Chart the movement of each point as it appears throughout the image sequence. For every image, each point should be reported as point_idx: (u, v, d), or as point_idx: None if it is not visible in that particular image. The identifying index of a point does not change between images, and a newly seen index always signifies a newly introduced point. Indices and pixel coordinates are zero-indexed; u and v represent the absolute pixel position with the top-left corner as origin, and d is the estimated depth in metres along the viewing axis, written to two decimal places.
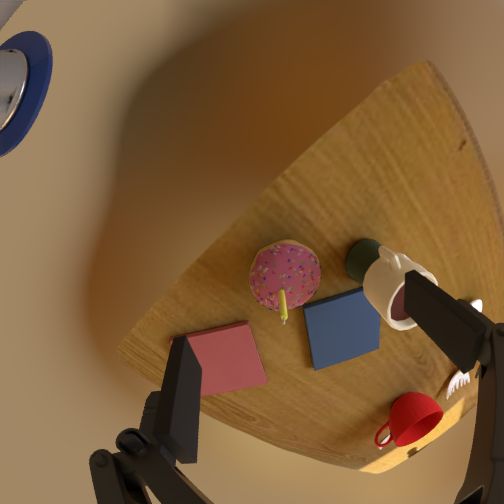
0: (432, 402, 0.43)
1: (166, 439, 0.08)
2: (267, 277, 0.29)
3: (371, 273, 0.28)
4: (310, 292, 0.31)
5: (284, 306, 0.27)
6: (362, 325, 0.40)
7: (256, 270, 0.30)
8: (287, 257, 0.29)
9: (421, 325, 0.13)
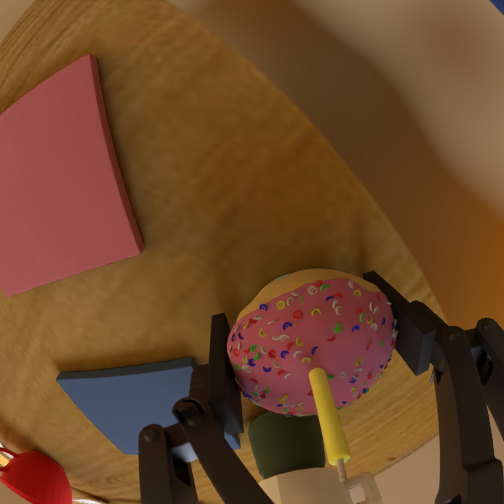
0: None
1: (220, 406, 0.10)
2: (358, 333, 0.10)
3: (328, 480, 0.12)
4: (289, 413, 0.12)
5: None
6: None
7: (365, 299, 0.10)
8: (385, 360, 0.11)
9: None
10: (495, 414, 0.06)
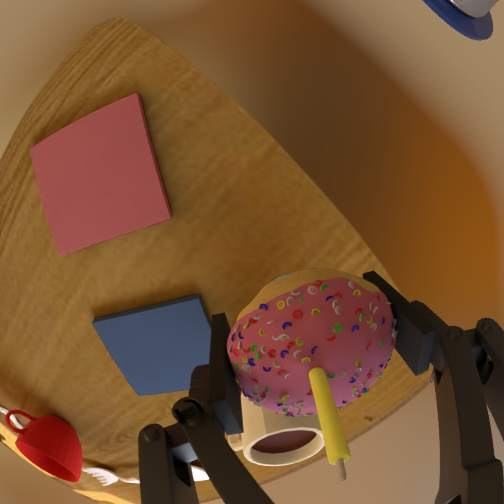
0: (81, 466, 0.28)
1: (220, 406, 0.10)
2: (358, 333, 0.10)
3: None
4: (289, 413, 0.12)
5: None
6: (172, 373, 0.29)
7: (364, 299, 0.10)
8: (384, 360, 0.11)
9: None
10: (495, 414, 0.06)
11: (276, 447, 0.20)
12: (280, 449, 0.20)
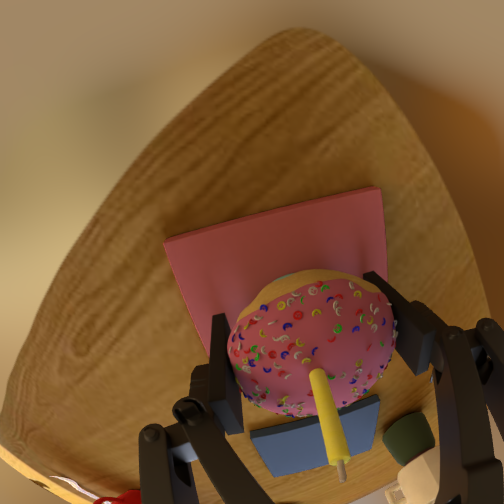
0: None
1: (220, 406, 0.10)
2: (358, 334, 0.10)
3: None
4: (290, 414, 0.12)
5: None
6: (323, 456, 0.25)
7: (365, 300, 0.10)
8: (385, 361, 0.11)
9: None
10: (494, 414, 0.06)
11: None
12: None
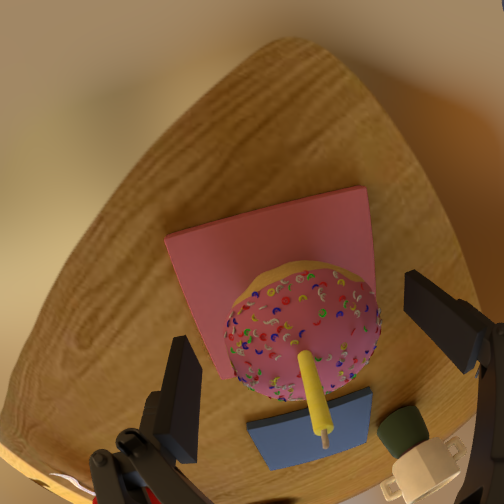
0: None
1: (166, 439, 0.08)
2: (342, 319, 0.11)
3: (440, 443, 0.19)
4: (282, 397, 0.13)
5: None
6: (318, 449, 0.26)
7: (348, 288, 0.12)
8: (370, 347, 0.12)
9: (421, 325, 0.13)
10: None
11: None
12: None
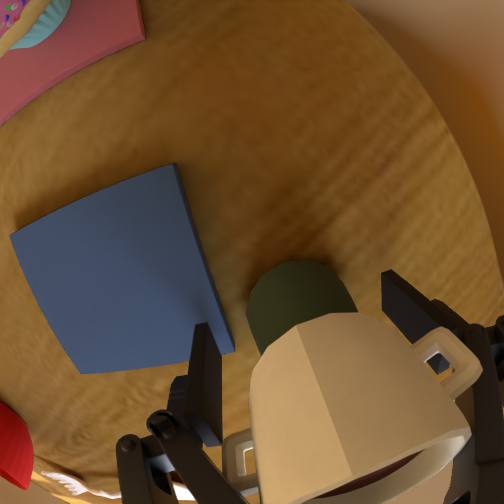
0: (29, 471, 0.16)
1: (196, 420, 0.09)
2: None
3: (388, 331, 0.09)
4: None
5: None
6: (127, 332, 0.16)
7: None
8: None
9: (397, 324, 0.14)
10: None
11: (339, 486, 0.07)
12: (345, 488, 0.07)
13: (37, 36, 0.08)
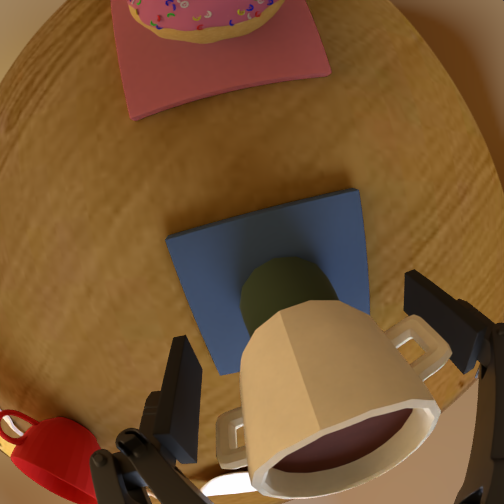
0: None
1: (166, 439, 0.08)
2: None
3: (361, 316, 0.10)
4: None
5: None
6: None
7: None
8: None
9: None
10: None
11: (321, 460, 0.08)
12: (328, 463, 0.09)
13: None
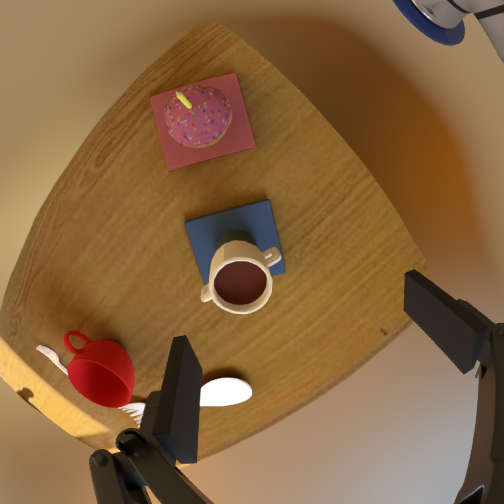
0: (133, 386, 0.43)
1: (166, 439, 0.08)
2: (203, 93, 0.28)
3: (250, 245, 0.33)
4: (184, 135, 0.30)
5: (185, 99, 0.26)
6: None
7: (208, 87, 0.29)
8: (221, 110, 0.30)
9: (421, 325, 0.13)
10: None
11: (236, 295, 0.32)
12: (239, 299, 0.32)
13: None
